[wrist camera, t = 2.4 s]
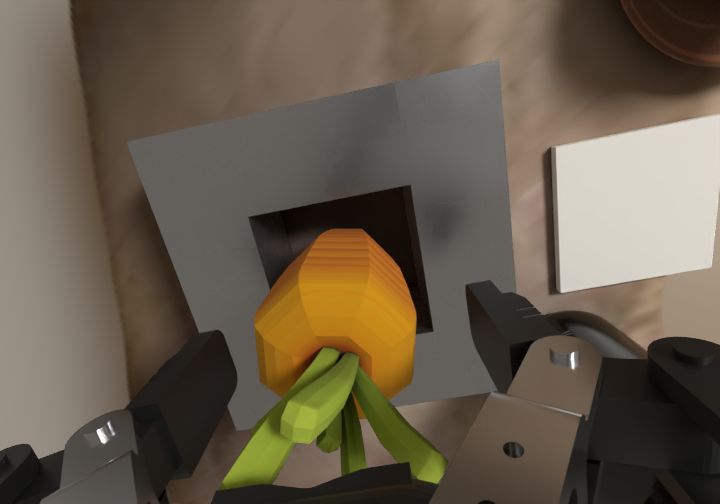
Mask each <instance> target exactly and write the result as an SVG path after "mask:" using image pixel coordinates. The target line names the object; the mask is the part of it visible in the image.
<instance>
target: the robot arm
mask: <svg viewBox="0 0 720 504" xmlns="http://www.w3.org/2000/svg"><path fill="white" fill-rule="evenodd" d="M465 293H466V300H467V308H468V315H469V323H470V330H471V335H472V339H473V342H474V345H475V348H476V350H477V352H478V354H479V356H480V358H481V360H482V362H483V363H484V365H485V367H486V369H487V371H488V373H489V375H490V377H491V379H492V381H493V383H494V385H495V386H496V388H497V390H498V391H493V392H491V394H490V395H489V396H488V398H487V400H486V401H485V403H484V405H483V407H482V409H481V410H480V412H479V414H478V416H477V418H476V419H475V421H474V423H473V425H472V427H471V428H470V430H469V432H468V434H467V436H466V437H465V439H464V441H463V443H462V445H461V446H460V448H459V450H458V452H457V454H456V455H455V457H454V459H453V461H452V463H451V464H450V466H449V468H448V470H447V472H446V473H445V475H444V477H443V479H442V480H441V482H440V484H436V483H433V482H428V481H424V480H417V479H413V477H412V472H411V467H410V463H409V462H405V463H398V464H391V465H385V466H378V467H371V468H365V469H359V470H357V471H354V472H352V473H349V474H346V475H344V476H341V477H339V478H336V479H333V480H331V481H328V482H326V483H323V484H320V485H318V486H315V487H312V488H295V487H286V486H277V485H268V484H258V485H251V486H245V487H238V488H231V489H225V490H218V491H216V492H215V495H214V497H213V500H212V502H211V504H597V500H598V494H599V488H600V482H601V476H602V470H603V464H604V461H606V462H614V463H622V464H630V465H638V466H646V467H650V469H651V470H652V471H653V473H654V474H655V475H656V476H657V478H658V479H659V480H660V482H661V483H662V484H663V485H664V487H665V488H666V489H667V491H668V492H669V493H670V494H671V496H672V497H673V498H674V499H675V501H676V502H677V503H678V504H720V345H718V344H715V343H713V342H709V341H706V340H701V339H696V338H688V337H667V338H661V339H658V340H655V341H654V342H652V343H651V344H650V345H649V346H648V351H647V359H625V358H608V357H602V354H601V352H600V350H599V349H598V348H597V347H596V346H594V345H593V344H591V343H590V342H588V341H585V340H583V339H580V338H576V337H571V336H563V335H562V334H561V333H560V332H559V331H558V330H557V329H556V328H555V327H554V326H553V325H552V324H551V323H550V322H549V321H548V320H547V319H546V318H545V317H544V316H543V315H541V313H540V312H539V311H538V310H537V309H536V308H534V306H533V305H532V304H531V303H530V302H529V301H528V300H527V299H526V298H525V297H522V296H520V295H518V294H515V293H513V292H508V293H501V292H500V290H499V289H498V288H497V287H496V286H495V285H494V284H493V282H492V281H491V280H487V281H481V282H476V283H470V284H466V285H465ZM237 381H238V378H237V371H236V367H235V365H234V362H233V359H232V356H231V354H230V351H229V348H228V345H227V342H226V340H225V337H224V335H223V333H222V332H221V331H220V330H213V331H207V332H202V333H196V334H194V335H193V336H192V337H191V338H190V340H189V341H188V342H187V343H186V344H185V345H184V346H183V348H182V349H181V350H180V351H179V352H178V353H177V354H176V355H175V356H173V357H172V358H171V359H169V360H168V361H167V362H166V363H165V364H164V365H163V366H162V367H161V368H160V369H159V370H158V372H157V374H156V375H154V376H153V377H152V378H151V379H150V381H149V384H146V385H145V386H144V387H143V388H142V390H141V391H140V392H139V393H138V394H137V395H136V396H135V397H134V399H133V400H132V401H131V402H130V403H129V404H128V405H127V406H126V408H125V409H123V410H116V411H112V412H109V413H106V414H104V415H101V416H99V417H97V418H95V419H94V420H92V421H90V422H89V423H87V424H86V425H84V426H83V427H81V428H80V429H79V430H78V431H77V432H76V433H74V434H73V436H71V437H70V439H69V440H68V441H67V443H66V445H65V449H64V450H62V451H59V452H57V453H54V454H51V455H49V456H46V457H43V458H40V459H38V458H37V456H36V454H35V453H34V451H33V449H32V448H31V446H30V445H28V444H20V445H15V446H12V447H9V448H6V449H4V450H1V451H0V504H173V503H172V499H171V496H170V494H169V491H168V489H167V487H166V486H167V484H168V482H169V481H170V480H176V479H182V478H189V477H191V476H192V474H193V472H194V470H195V468H196V466H197V464H198V462H199V460H200V458H201V456H202V454H203V452H204V450H205V448H206V446H207V445H208V443H209V441H210V439H211V437H212V435H213V433H214V431H215V429H216V427H217V425H218V423H219V421H220V419H221V417H222V415H223V413H224V411H225V410H226V408H227V406H228V404H229V402H230V400H231V398H232V396H233V394H234V392H235V390H236V387H237Z"/></svg>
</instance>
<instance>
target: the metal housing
mask: <svg viewBox="0 0 720 504" xmlns="http://www.w3.org/2000/svg"><path fill="white" fill-rule="evenodd" d="M126 143H127V145H128V148H129V151H130V153H131V156H132V158H133V161H134V164H135V166H136V169H137V171H138V174H139V177H140V179H141V182H142V185H143V187H144V190H145V192H146V195H147V198H148V200H149V203H150V205H151V208H152V211H153V213H154V216H155V219H156V221H157V224H158V226H159V229H160V232H161V234H162V237H163V239H164V242H165V245H166V247H167V250H168V252H169V255H170V258H171V260H172V263H173V266H174V268H175V271H176V273H177V276H178V279H179V281H180V284H181V286H182V289H183V292H184V294H185V297H186V300H187V302H188V305H189V307H190V310H191V313H192V315H193V318H194V320H195V323H196V326H197V328H198V331H199V333H202V332H207V331H213V330H220V331H221V332H222V333H223V335H224V337H225V340H226V342H227V345H228V348H229V351H230V354H231V356H232V359H233V362H234V365H235V367H236V371H237V378H238V381H237V387H236V390H235V392H234V394H233V396H232V398H231V400H230V402H229V404H228V406H227V407H228V409H229V412H230V415H231V417H232V420H233V422H234V425H235V428H236V430H237V431H241V430H247V429H253V427H254V426H255V424H256V423H257V422H258V421H259V420H260V419H261V418H262V417H263V416H264V415H265V414H266V413H267V412H268V411H269V410H271V409H272V408H273V407H274V406H275V405H276V404H277V403H278V402H279V401H280V400H281V398H280V397H279V396H277V395H276V394H275V393H274V392H272V391H271V390H270V389H269V388H267V387H266V386H265V385H263V384H262V383H261V382H260V380H259V370H258V360H257V350H256V340H255V330H254V317H255V314H256V311H257V309H258V308H259V306H260V305H261V303H262V302H263V300H264V299H265V297H266V296H267V294H268V293H269V291H270V290H271V289H272V287H273V286H274V284H275V283H276V282H277V280H278V279H279V278H280V276H281V275H282V274H283V272H284V271H285V270H286V269H287V267H288V266H289V265H290V264H291V263H292V262H293V261H294V258H293V255H292V251H291V247H290V243H289V240H288V236H287V232H286V229H285V225H284V221H283V218H282V214H281V210H286V209H291V208H296V207H301V206H306V205H311V204H316V203H321V202H326V201H331V200H336V199H341V198H346V197H351V196H356V195H361V194H366V193H371V192H376V191H381V190H386V189H391V188H396V187H401V186H402V191H403V197H404V203H405V209H406V215H407V221H408V227H409V233H410V239H411V245H412V252H413V258H414V264H415V270H416V276H417V282H418V286H417V287H412V288H408V289H409V292H410V295H411V298H412V301H413V304H414V307H415V310H416V318H417V320H416V338H415V356H414V374H413V379H412V383H411V384H410V385H408V386H407V387H406V388H405V389H403V390H402V391H401V392H400V393H398V394H397V395H396V396H394V397H393V398H392V399H391V400H389V401H390V402H391V403H392V405H393V406H394V407H397V406H404V405H410V404H417V403H423V402H430V401H436V400H443V399H449V398H456V397H462V396H469V395H475V394H482V393H488V392H493V391H498V390H497V388H496V386H495V385H494V383H493V381H492V379H491V377H490V375H489V373H488V371H487V369H486V367H485V365H484V363H483V362H482V360H481V358H480V356H479V354H478V352H477V350H476V348H475V345H474V342H473V339H472V335H471V330H470V323H469V315H468V308H467V300H466V293H465V285H466V284H470V283H476V282H481V281H487V280H491V281H492V282H493V284H494V285H495V286H496V287H497V288H498V289H499V290H500V292H501V293H508V292H513V293H515V294H516V282H515V269H514V255H513V242H512V229H511V215H510V202H509V189H508V175H507V162H506V149H505V135H504V122H503V109H502V96H501V82H500V69H499V60H495V61H490V62H485V63H481V64H476V65H472V66H467V67H463V68H458V69H454V70H449V71H445V72H440V73H436V74H431V75H427V76H422V77H417V78H413V79H408V80H404V81H399V82H395V83H390V84H386V85H381V86H377V87H372V88H368V89H363V90H358V91H354V92H349V93H345V94H340V95H336V96H331V97H327V98H322V99H318V100H313V101H309V102H304V103H300V104H295V105H290V106H286V107H281V108H277V109H272V110H268V111H263V112H259V113H254V114H250V115H245V116H241V117H236V118H231V119H227V120H222V121H218V122H213V123H209V124H204V125H200V126H195V127H191V128H186V129H182V130H177V131H173V132H168V133H163V134H159V135H154V136H150V137H145V138H141V139H136V140H132V141H127V142H126Z"/></svg>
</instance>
